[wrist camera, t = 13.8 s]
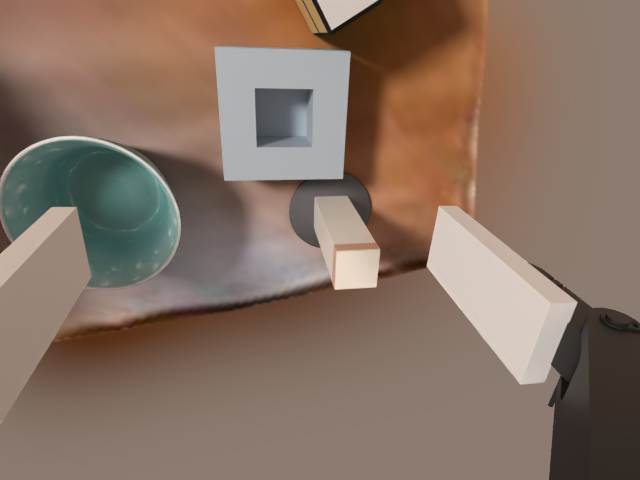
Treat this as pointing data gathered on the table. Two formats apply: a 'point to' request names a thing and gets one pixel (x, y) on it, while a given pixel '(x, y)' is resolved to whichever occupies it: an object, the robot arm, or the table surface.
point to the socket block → (282, 112)
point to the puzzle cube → (333, 13)
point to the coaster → (314, 188)
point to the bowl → (97, 204)
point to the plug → (345, 243)
